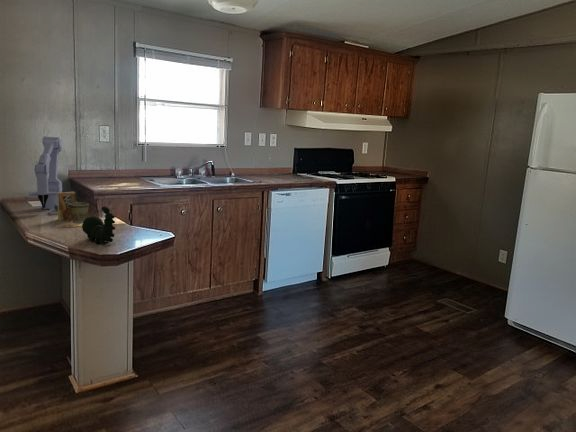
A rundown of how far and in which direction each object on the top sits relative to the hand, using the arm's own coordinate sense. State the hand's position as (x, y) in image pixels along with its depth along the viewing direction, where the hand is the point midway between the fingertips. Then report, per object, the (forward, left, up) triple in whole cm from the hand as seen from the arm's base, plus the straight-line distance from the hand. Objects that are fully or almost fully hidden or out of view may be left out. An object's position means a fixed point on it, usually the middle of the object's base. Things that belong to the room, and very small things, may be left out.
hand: (43, 207), depth 271 cm
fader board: (+11, +6, -3) cm, 13 cm away
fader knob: (+6, +3, -2) cm, 7 cm away
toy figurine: (+57, -52, -4) cm, 77 cm away
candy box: (+20, -12, -4) cm, 24 cm away
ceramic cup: (+29, -14, -4) cm, 32 cm away
